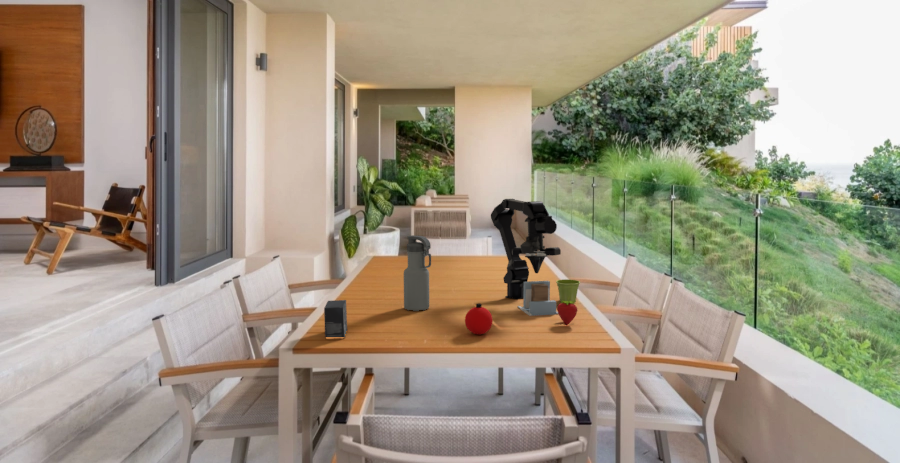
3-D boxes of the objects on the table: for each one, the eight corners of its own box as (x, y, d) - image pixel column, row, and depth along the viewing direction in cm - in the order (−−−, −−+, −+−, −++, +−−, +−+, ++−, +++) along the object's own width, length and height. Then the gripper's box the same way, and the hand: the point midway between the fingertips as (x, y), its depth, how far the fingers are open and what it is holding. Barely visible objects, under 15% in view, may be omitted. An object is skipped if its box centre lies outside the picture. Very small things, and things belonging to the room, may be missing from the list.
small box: (327, 331, 204) (327, 300, 203) (347, 330, 205) (347, 299, 204) (324, 339, 194) (323, 307, 193) (345, 339, 194) (344, 306, 193)
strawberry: (564, 321, 215) (564, 293, 214) (581, 325, 210) (581, 296, 209) (552, 324, 212) (553, 295, 211) (569, 328, 206) (570, 299, 205)
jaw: (523, 308, 230) (523, 281, 229) (547, 306, 232) (548, 280, 231) (525, 309, 228) (525, 282, 227) (549, 308, 229) (550, 281, 228)
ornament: (494, 337, 195) (494, 306, 194) (466, 338, 195) (466, 307, 194) (490, 330, 204) (490, 300, 203) (463, 330, 204) (463, 301, 203)
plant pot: (579, 306, 239) (580, 284, 238) (555, 305, 241) (555, 283, 240) (579, 300, 248) (580, 279, 247) (556, 300, 250) (556, 279, 249)
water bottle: (434, 307, 238) (434, 235, 235) (423, 312, 229) (422, 238, 227) (411, 304, 243) (410, 234, 240) (399, 310, 234) (398, 236, 231)
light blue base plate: (517, 309, 234) (517, 305, 234) (545, 307, 236) (545, 304, 236) (529, 317, 221) (529, 314, 220) (559, 316, 223) (559, 312, 223)
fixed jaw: (528, 313, 224) (528, 301, 223) (553, 312, 226) (553, 300, 225) (530, 315, 222) (530, 302, 221) (556, 313, 223) (556, 301, 223)
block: (531, 310, 228) (531, 284, 227) (544, 310, 229) (544, 283, 228) (534, 313, 224) (535, 286, 223) (547, 312, 225) (548, 285, 224)
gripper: (504, 234, 239) (505, 274, 240) (547, 234, 228) (548, 276, 229) (518, 233, 248) (519, 271, 249) (560, 232, 237) (561, 273, 238)
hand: (536, 273), depth 241 cm, fingers closed
